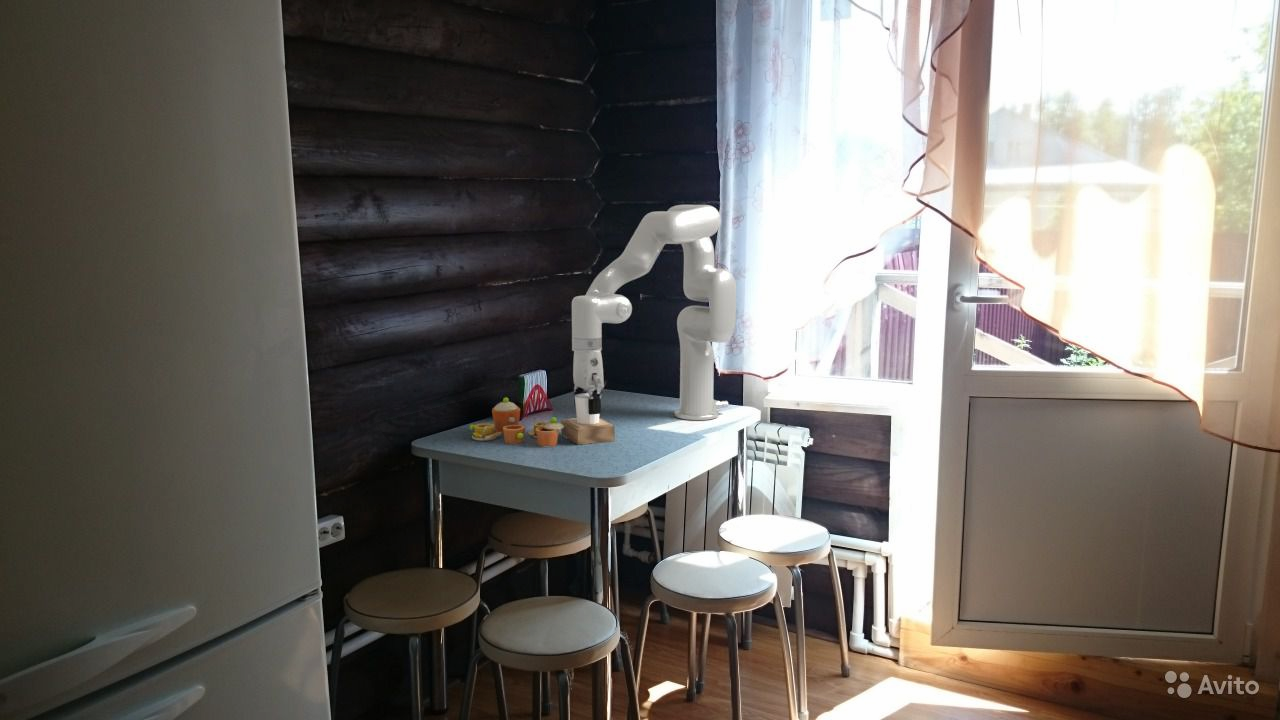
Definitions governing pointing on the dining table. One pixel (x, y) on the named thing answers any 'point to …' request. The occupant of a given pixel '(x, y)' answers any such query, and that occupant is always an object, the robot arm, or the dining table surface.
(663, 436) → the dining table surface
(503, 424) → the toy tea set
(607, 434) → the riser
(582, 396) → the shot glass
